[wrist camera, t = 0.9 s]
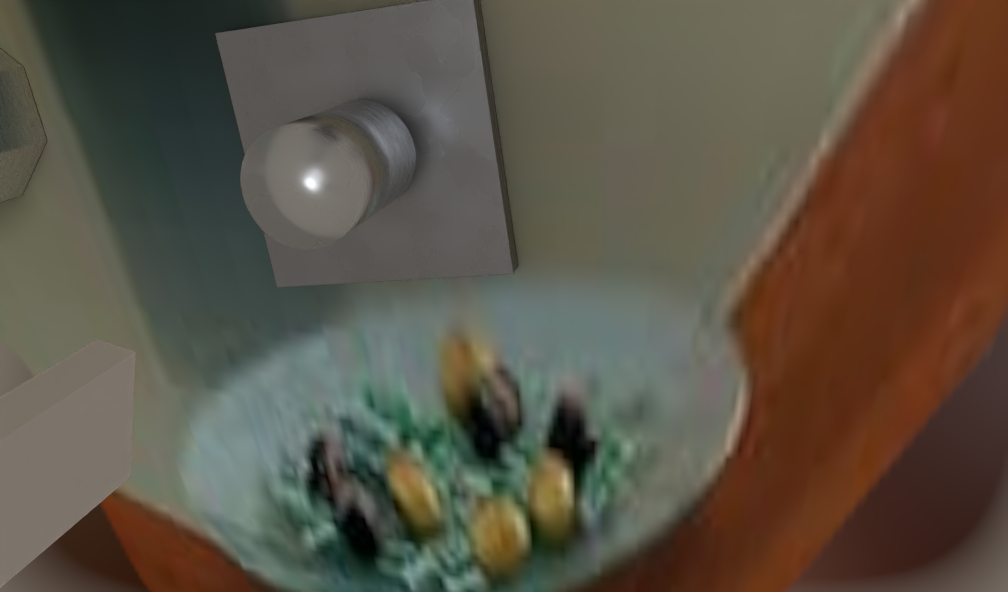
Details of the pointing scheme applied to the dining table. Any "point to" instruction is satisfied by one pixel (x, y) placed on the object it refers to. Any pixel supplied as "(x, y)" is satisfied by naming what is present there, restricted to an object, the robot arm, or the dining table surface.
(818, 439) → the dining table surface
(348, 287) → the dining table surface
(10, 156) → the silver metal fitting
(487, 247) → the knob on square plate
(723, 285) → the dining table surface
